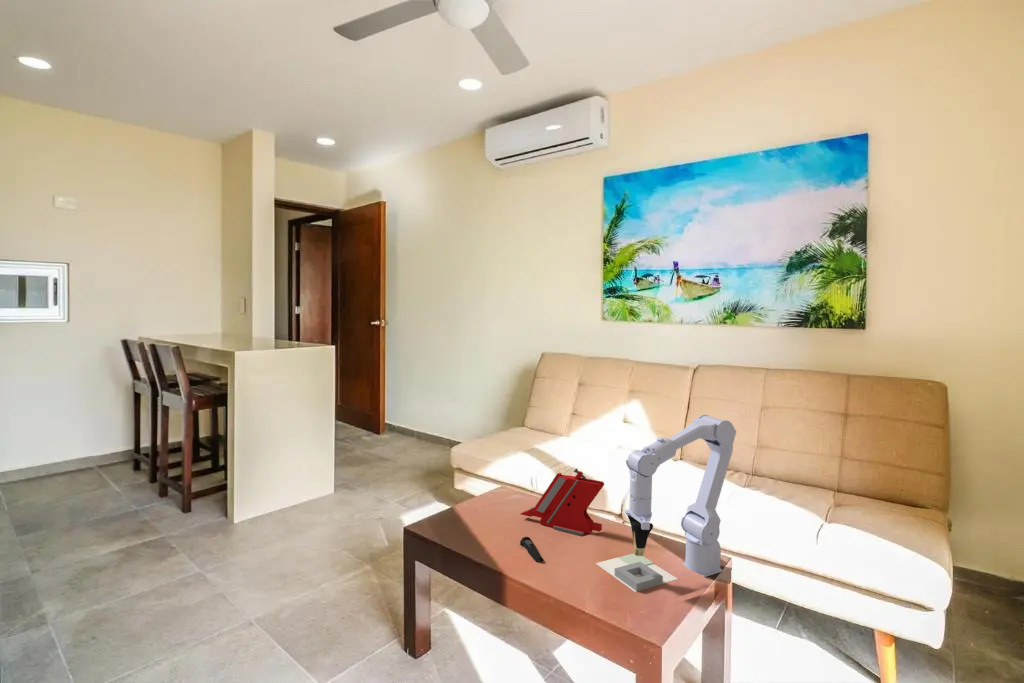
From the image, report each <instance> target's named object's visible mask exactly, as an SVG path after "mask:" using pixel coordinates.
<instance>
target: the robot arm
mask: <svg viewBox="0 0 1024 683" xmlns="http://www.w3.org/2000/svg"><path fill="white" fill-rule="evenodd" d="M736 435H737V430H736V428H735V426H734V425H733V422H731V421H730V420H727V419H721V418H717V417H714V416H711V415H710V416H709V415H707V414H701V415H699V416H698V417H696V418H694V419H692V423H691V424H688V426H686V427H684V428H683V429H681V431H679V432H677V433H675V434H674V435H673V436H671V437H670V438H668V437H658V438H656V441H654V442H652V443H651V444H649V445H647V446H644V447H643V448H642V449H641V450H640V449H635V450H633V451H631V453H630V454H629V455H628V457H627V459H626V460H625V463H626V466H627V468H628V469H629V475H630V476H629V479H630V480H629V508H628V509H625V510H624V514H625V515H626V516H627V518H628V521H629V523H630V526H631V532H632V533H631V534H632V538H633V540H634V534H635V542H636V547H637V548H645V549H646V545H647V541H648V538H649V535H650V533H651V532H652V530H653V528H654V524H653V523H652V522H651V519H652V517H653V516H652V515H653V512H652V499H653V498H652V497H653V496H652V493H653V475H654V474H656V472H657V469H658V468H659V467H660V466H661V465H662V464H664V463H665V462H667V461H669V460H670V459H672V458H675V456H676V454H677V450H678V449H681V448H684V447H685V446H687V445H689V444H691V443H693V442H695V441H697V440H699V439H701V440H703V441H704V442H706V444H707V446H708V447H709V449H710V453H709V456H708V460H707V462H706V463H707V464H706V467H705V469H704V474H703V475H702V476H703V477H702V481H701V484H700V488H699V490H698V495H697V497H696V501H695V502H694V503H692V504H689V505H688V506H687V508H686V512H684V514H683V515H682V517H681V519H680V527H681V529H682V530H683V531H684V536H685V557H684V558H685V559H684V560H685V561H684V562H683V563H681V565H683V566H685V568H687V570H688V571H689V570H690V571H691V572H694V573H697V574H699V575H701V576H702V577H703V578H706V577H708V576H709V577H710V576H713V575H715V574H719V573H723V569H722V568H721V558H722V557H721V556H722V554H721V553H722V552H721V551H722V549H721V544H720V542H719V541H718V539H719V536H720V525H721V518H720V516H719V514H718V512H717V510H716V509H717V506H718V503H719V499H720V496H721V495H720V494H721V492H722V488H723V485H724V482H725V478H726V475H727V471H728V468H729V465H730V460H731V459H732V458H731V457H732V454H733V451H734V442H735V438H736Z"/></svg>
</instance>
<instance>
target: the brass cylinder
mask: <svg viewBox="0 0 1024 683" xmlns="http://www.w3.org/2000/svg"><path fill="white" fill-rule="evenodd" d="M645 550H646V547H645V548H637V547H636V542H635V534H634V539H633V549H632V551H633V553H632V554H634V555H637V556H644V557H645V554H646V551H645Z"/></svg>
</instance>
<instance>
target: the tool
mask: <svg viewBox="0 0 1024 683" xmlns="http://www.w3.org/2000/svg"><path fill="white" fill-rule="evenodd" d="M573 472H574V473H575V474H576V475H575V476H574V475H567V474H563V473H562V472H558V473H556V474H555V476H554V478H553V479H552V480H551V482H550V484H549V485H548V487H547V488H546V490H545V491H544V493H543V494H542V495H541V497H540V499H539V500H538V502H537V503H536V505H535V506H534V507H530V508H529V509H528V510H525V511H522V512H521V513H520V516H521V515H522V516H525V517H530V518H531V517H536V518H540V520H539V521H538V523H539V524H540V525H542V526H547V527H550V528H553V530H556V531H560V532H563V533H568V534H573V535H576V536H577V535H578V536H580V537H585V535H586V534H591V533H592V531H594V532H595V531H596V532H599V533H600V532H601V531H602V530H603V523H598V522H595V521H594V520H593V519H592V518H591V516H590V514H588V508H589V507H590V505H591V504H592V503H593V501H594V500H595V498H596V497H597V495H598V494H599V493H600V491H601V490H602V489H603V487H604V486H605V483H604V481H602V480H598V479H597V480H596V479H592V478H587V477H586V476H585V475H584V472H582V471H581V470H579V468H577V467H576V468H575V469H574V470H573Z"/></svg>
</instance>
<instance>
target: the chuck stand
mask: <svg viewBox="0 0 1024 683" xmlns="http://www.w3.org/2000/svg"><path fill="white" fill-rule="evenodd" d="M595 564H596V566H598V567H600V568H601V569H603V570H604V571H605V572H607V573H608V574H609V575H611V576H612V577H614V578H615V579H616V580H618V581H619V582H620V583H622V584H623V585H625V586H626V587H628V589H630V590H631V591H633V592H634V593H635V592H640V591H643V590H647V589H650V588H653V587H656V586H659V585H662V584H666V583H669V582H672V581H675V580H678V578H677V577H676V576H674V575H672V574H671V573H669V572H668V571H666V570H664V569H663V568H661V567H659V566H658V565H657V564H655V563H654V562H653V561H652V560H650V559H648V558H647V557H645V555H644V556H637V555H634V554H633V553H630V554H626V555H625V554H624V555H622V556H618V557H615V558H614V557H613V558H611V559H607V560H603V561H599V562H595Z"/></svg>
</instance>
